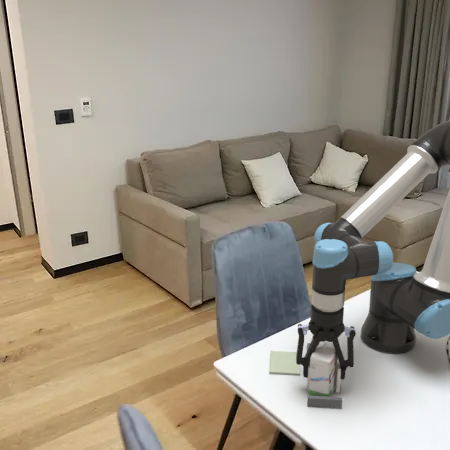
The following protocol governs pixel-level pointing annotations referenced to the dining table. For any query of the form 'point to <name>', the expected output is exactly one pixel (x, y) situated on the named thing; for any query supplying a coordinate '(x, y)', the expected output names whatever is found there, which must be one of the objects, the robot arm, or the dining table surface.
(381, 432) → the dining table surface
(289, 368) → the felt pad
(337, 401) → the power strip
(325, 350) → the ink box
